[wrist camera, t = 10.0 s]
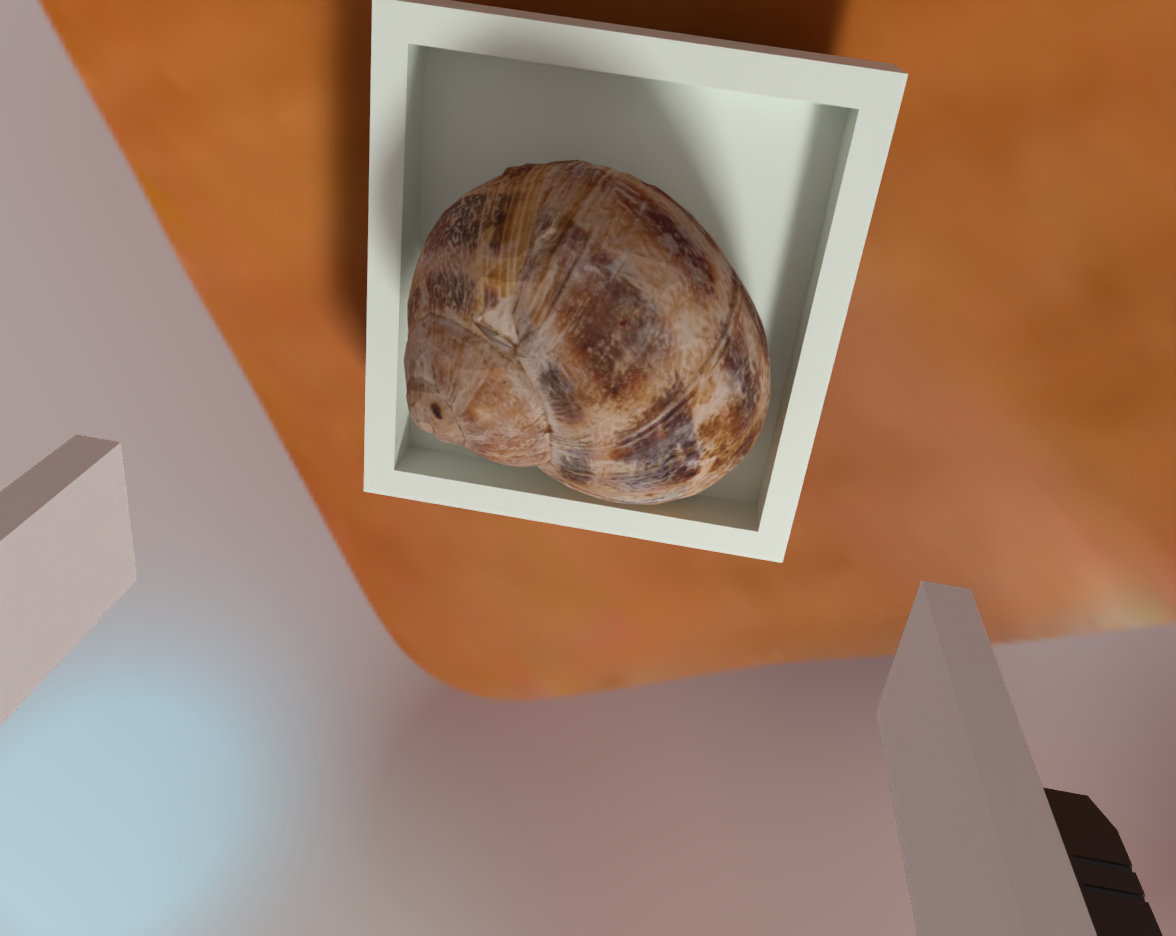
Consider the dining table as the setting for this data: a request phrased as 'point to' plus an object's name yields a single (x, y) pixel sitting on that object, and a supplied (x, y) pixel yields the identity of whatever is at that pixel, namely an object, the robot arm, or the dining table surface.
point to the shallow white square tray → (657, 157)
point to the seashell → (586, 335)
